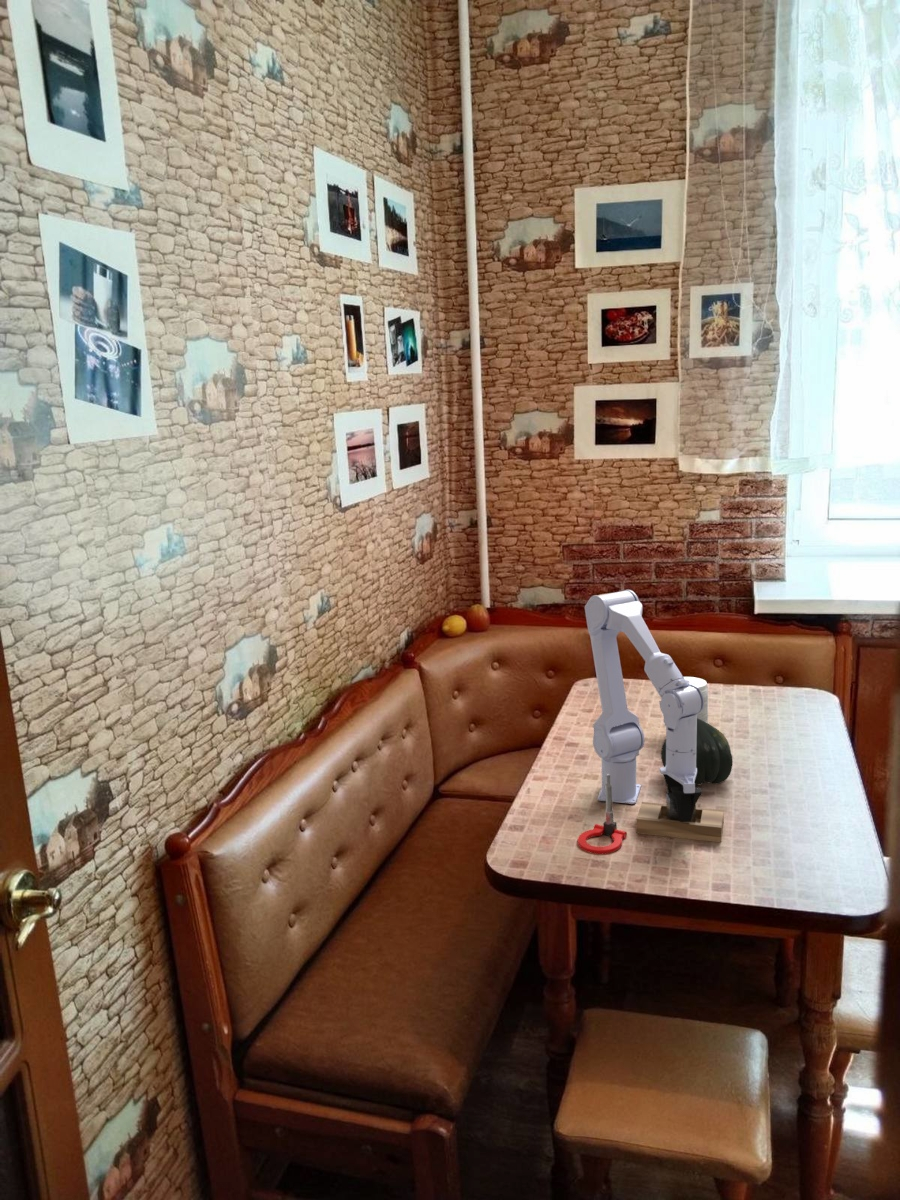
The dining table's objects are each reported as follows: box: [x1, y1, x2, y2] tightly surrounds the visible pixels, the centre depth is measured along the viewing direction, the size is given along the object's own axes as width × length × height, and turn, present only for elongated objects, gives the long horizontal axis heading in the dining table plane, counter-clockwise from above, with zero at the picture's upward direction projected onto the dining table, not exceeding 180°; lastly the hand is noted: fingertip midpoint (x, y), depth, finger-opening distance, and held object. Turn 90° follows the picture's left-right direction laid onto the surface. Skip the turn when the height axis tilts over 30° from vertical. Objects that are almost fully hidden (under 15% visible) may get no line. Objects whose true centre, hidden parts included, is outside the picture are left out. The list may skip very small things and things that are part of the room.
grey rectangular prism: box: [665, 792, 697, 823], centre depth 188 cm, size 3×5×6 cm, turn 90°
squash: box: [660, 718, 733, 786], centre depth 210 cm, size 14×15×15 cm
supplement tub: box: [683, 676, 709, 724], centre depth 233 cm, size 10×10×15 cm
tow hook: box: [577, 774, 628, 855], centre depth 183 cm, size 8×13×9 cm
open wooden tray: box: [635, 801, 725, 843], centre depth 189 cm, size 8×16×3 cm, turn 71°
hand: (680, 812), depth 188 cm, fingers open, 7 cm apart
